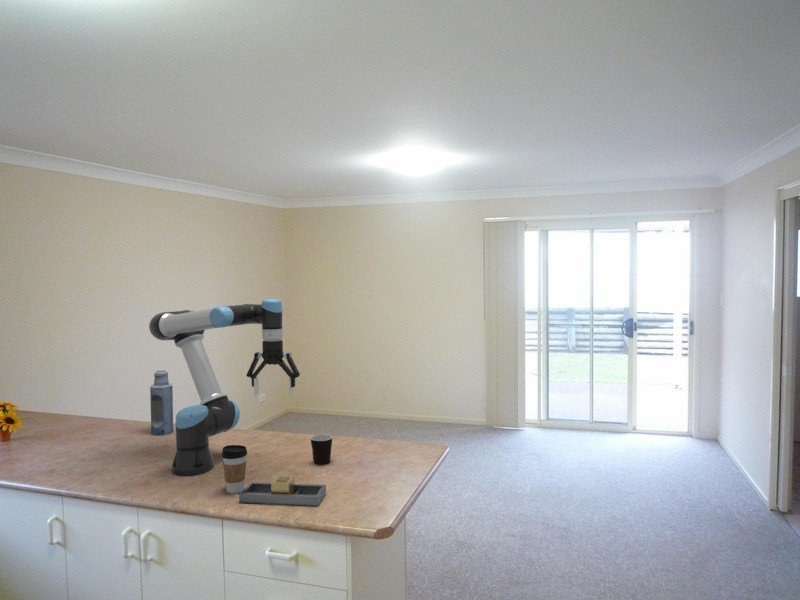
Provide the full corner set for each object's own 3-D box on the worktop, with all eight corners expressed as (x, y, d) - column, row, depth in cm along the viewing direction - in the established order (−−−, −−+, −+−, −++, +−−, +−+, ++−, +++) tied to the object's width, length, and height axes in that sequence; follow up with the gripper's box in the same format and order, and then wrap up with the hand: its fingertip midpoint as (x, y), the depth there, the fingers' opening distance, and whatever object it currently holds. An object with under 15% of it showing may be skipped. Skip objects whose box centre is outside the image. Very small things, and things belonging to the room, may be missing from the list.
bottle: (146, 435, 248) (144, 371, 247) (159, 429, 258) (157, 368, 256) (165, 436, 246) (163, 372, 245) (177, 430, 256) (175, 368, 255)
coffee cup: (225, 485, 187) (224, 444, 186) (250, 484, 188) (249, 443, 187) (219, 495, 179) (218, 451, 178) (245, 494, 179) (244, 450, 179)
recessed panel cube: (271, 500, 173) (271, 481, 173) (277, 493, 179) (277, 474, 179) (289, 501, 172) (288, 482, 172) (294, 493, 178) (294, 475, 178)
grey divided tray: (239, 502, 172) (239, 493, 172) (251, 490, 182) (251, 482, 182) (318, 506, 169) (318, 497, 169) (326, 493, 179) (325, 484, 179)
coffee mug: (328, 466, 205) (328, 441, 204) (307, 465, 206) (307, 440, 206) (338, 456, 216) (337, 432, 216) (318, 455, 218) (317, 431, 217)
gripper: (236, 340, 198) (238, 397, 199) (301, 341, 195) (302, 398, 196) (245, 338, 205) (246, 392, 206) (307, 338, 202) (308, 393, 203)
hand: (273, 395), depth 201 cm, fingers open, 13 cm apart
